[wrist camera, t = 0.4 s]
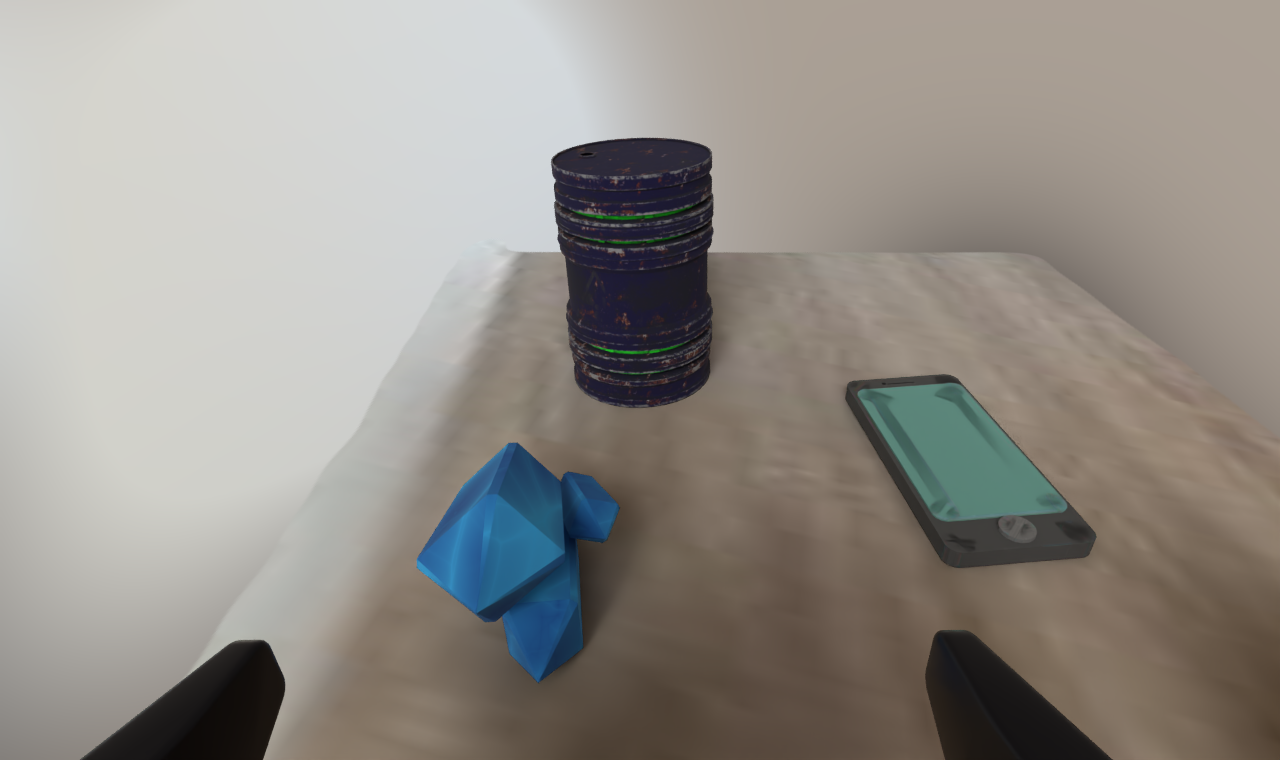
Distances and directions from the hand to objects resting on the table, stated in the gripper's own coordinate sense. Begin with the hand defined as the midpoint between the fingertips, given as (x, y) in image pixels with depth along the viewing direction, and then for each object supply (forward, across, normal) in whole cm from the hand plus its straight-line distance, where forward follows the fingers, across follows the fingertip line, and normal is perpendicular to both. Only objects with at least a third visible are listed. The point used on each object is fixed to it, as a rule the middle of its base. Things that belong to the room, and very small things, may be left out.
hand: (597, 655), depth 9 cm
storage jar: (+36, +1, +15) cm, 39 cm away
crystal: (+15, +5, +16) cm, 23 cm away
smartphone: (+25, -17, +16) cm, 34 cm away
